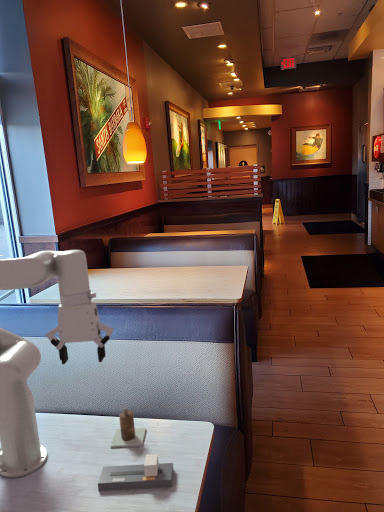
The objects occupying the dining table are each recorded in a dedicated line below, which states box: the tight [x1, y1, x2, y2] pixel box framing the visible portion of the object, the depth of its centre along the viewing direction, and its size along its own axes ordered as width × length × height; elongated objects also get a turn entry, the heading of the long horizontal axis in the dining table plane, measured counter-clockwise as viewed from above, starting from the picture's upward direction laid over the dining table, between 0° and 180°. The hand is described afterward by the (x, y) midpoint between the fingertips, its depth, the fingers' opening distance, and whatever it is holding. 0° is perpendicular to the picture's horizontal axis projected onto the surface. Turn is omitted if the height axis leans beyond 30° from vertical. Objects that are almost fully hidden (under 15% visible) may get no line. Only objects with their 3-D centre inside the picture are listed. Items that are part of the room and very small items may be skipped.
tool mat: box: [110, 427, 147, 449], centre depth 119 cm, size 9×8×1 cm
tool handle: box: [118, 407, 135, 441], centre depth 118 cm, size 4×4×9 cm
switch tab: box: [144, 453, 160, 477], centre depth 101 cm, size 3×4×3 cm
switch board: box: [97, 462, 174, 492], centre depth 101 cm, size 18×6×2 cm, turn 89°
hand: (83, 361), depth 107 cm, fingers open, 9 cm apart
